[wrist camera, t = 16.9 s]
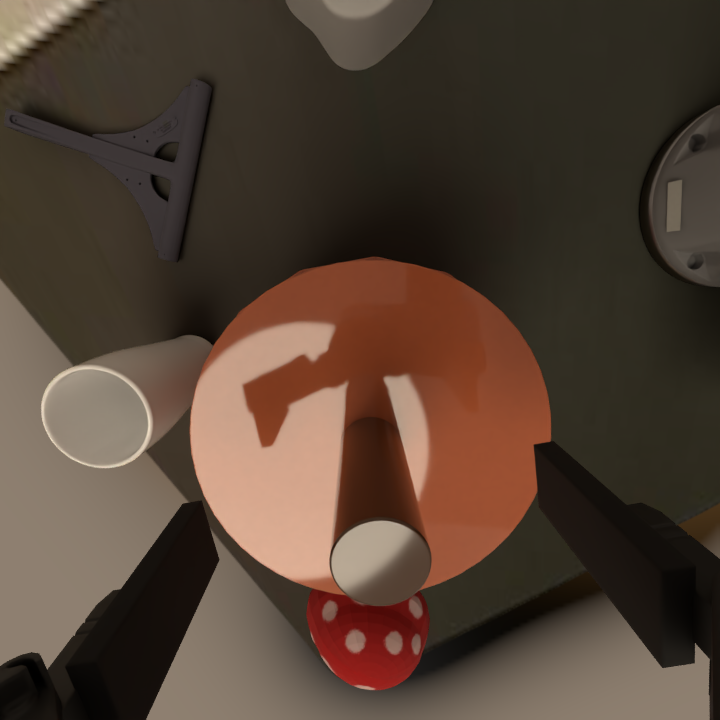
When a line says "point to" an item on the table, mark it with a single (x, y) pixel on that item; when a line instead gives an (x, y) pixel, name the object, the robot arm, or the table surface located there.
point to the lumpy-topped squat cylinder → (359, 27)
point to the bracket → (144, 159)
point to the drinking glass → (122, 400)
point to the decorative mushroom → (368, 637)
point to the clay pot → (369, 428)
